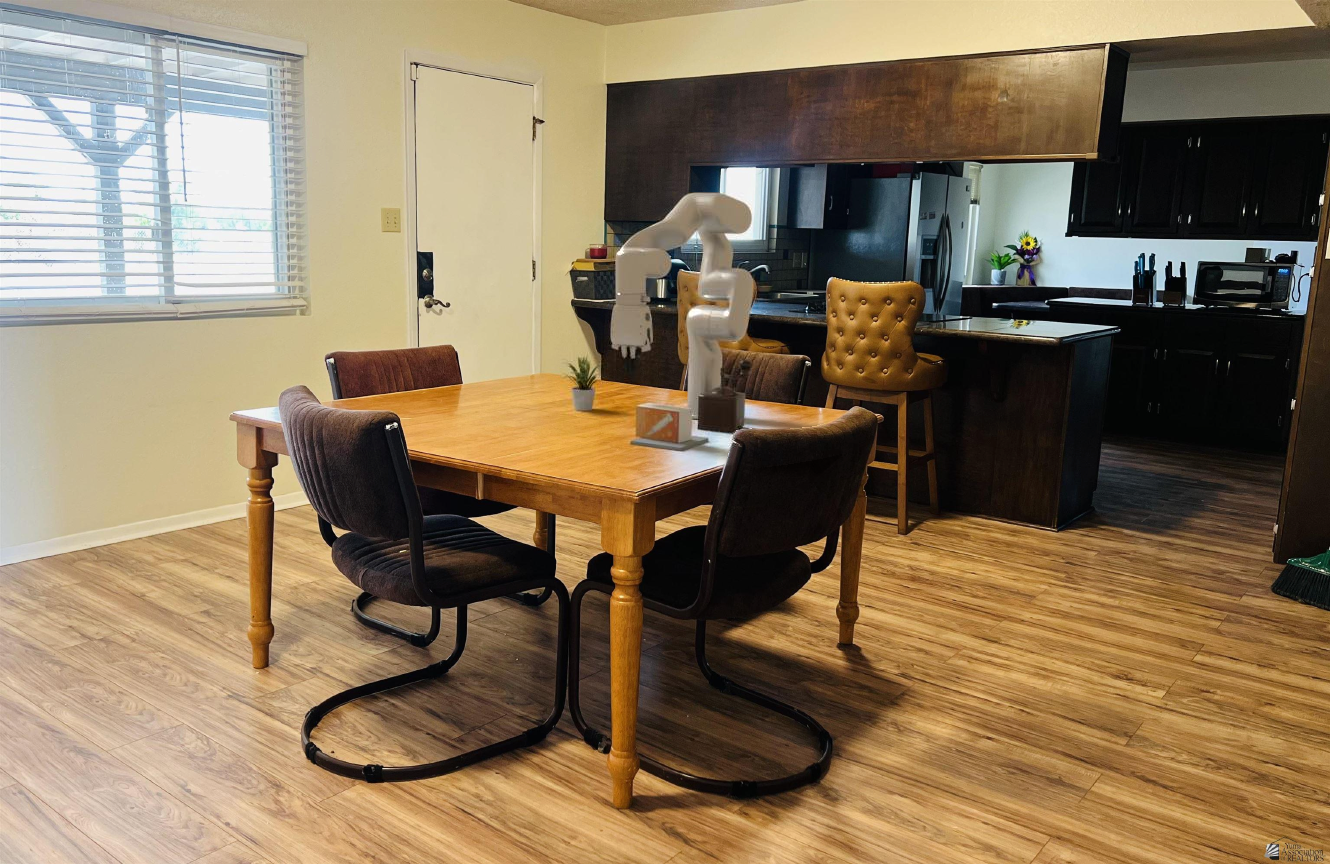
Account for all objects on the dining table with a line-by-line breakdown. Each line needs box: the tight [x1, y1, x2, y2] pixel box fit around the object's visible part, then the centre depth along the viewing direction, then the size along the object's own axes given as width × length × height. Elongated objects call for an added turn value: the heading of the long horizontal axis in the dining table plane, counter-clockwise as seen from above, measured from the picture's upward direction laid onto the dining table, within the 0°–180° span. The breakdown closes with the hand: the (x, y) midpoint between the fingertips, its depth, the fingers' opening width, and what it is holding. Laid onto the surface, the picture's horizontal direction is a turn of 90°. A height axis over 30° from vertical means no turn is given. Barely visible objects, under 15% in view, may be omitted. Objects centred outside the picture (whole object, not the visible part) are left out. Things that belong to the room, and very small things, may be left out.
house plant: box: [561, 354, 603, 412], centre depth 298 cm, size 14×14×16 cm
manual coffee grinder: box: [697, 359, 754, 434], centre depth 276 cm, size 16×11×18 cm
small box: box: [635, 402, 693, 443], centre depth 255 cm, size 8×6×13 cm
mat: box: [629, 435, 709, 452], centre depth 255 cm, size 15×14×1 cm
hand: (631, 372), depth 259 cm, fingers closed
